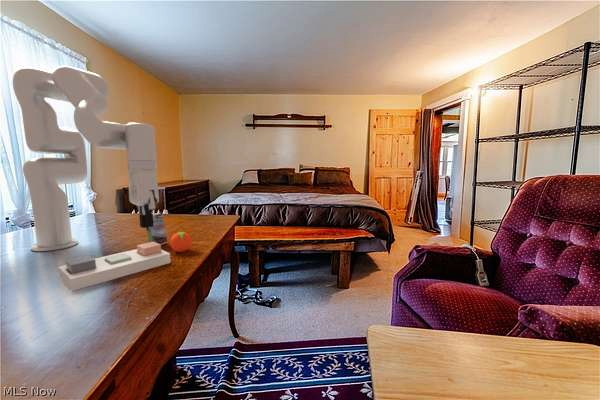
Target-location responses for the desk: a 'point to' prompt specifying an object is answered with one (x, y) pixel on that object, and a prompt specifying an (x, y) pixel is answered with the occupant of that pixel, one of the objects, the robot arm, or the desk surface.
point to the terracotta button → (148, 248)
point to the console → (113, 269)
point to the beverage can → (157, 230)
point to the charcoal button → (80, 264)
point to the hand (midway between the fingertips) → (146, 226)
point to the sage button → (117, 258)
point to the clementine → (181, 241)
